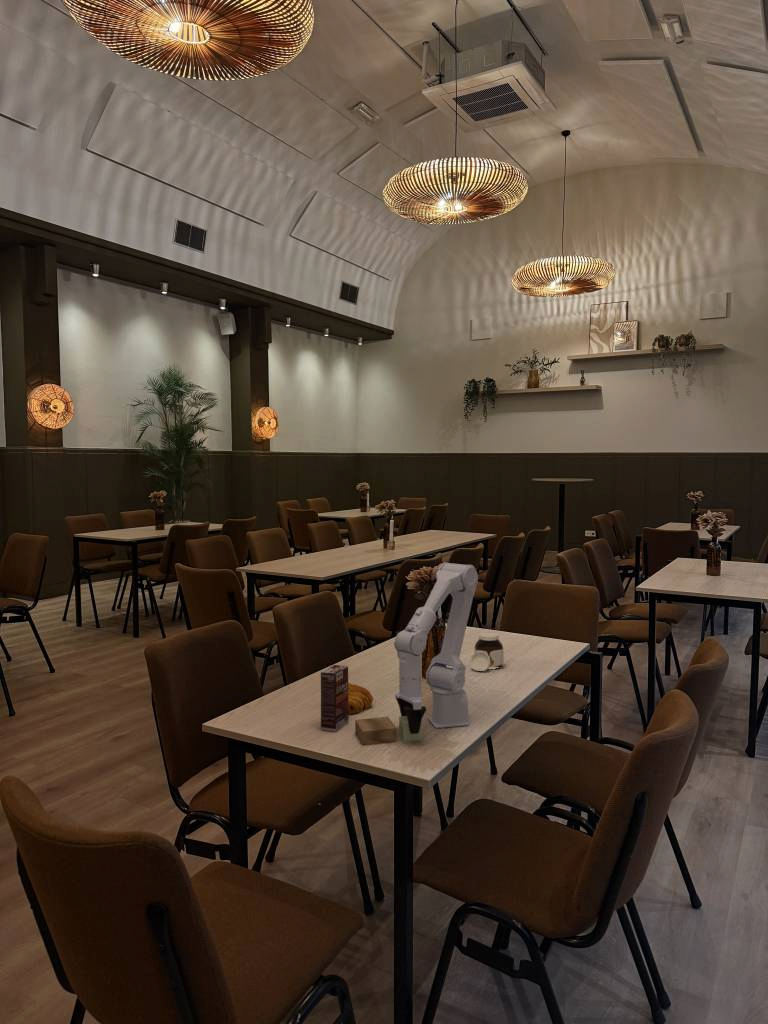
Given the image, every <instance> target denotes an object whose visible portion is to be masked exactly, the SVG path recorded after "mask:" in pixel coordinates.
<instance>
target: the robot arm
mask: <svg viewBox="0 0 768 1024" xmlns="http://www.w3.org/2000/svg"><path fill="white" fill-rule="evenodd" d="M435 578H436V582H435V583H434V586H433V588H432V590H431V591H430V593H429V595H428V598H427V599H426V602H425V604H424V606H421V607H418V608H417V609H415V610H416V611H415V612H414V613H413V615H412V617H411V619H410V620H409V622H408V623H407V626H406V627H405V629H403V630H402V631H399V632H397V634H396V636H395V639H394V640H395V641H394V642H393V645H394V649H395V650H396V653H397V655H396V656H397V657H396V658H398V668H399V669H398V673H399V674H398V675H399V676H398V677H399V678H398V680H399V682H398V683H399V687H398V688H399V692H398V693H397V692H396V693H394V697H395V699H396V702H397V704H398V707H399V711H400V716H407V718H408V724H409V730H410V733H411V734H417V733H419V729H420V725H421V721H423V717H424V715H425V713H426V712H427V707H426V706H424V705H423V706H422V698H423V693H422V653H423V652H425V650H426V646H427V640H428V635H429V632H431V630H432V628H433V626H434V624H435V622H437V616H436V613H437V611H438V610H439V608H440V607H441V605H442V604H443V603H444V602H445V600H446V598H447V597H448V596H449V595H451V598H452V601H451V606H450V610H449V615H448V618H447V624H446V628H445V632H444V636H443V640H442V644H441V649H440V653H438V654H437V655H436V656H434V657H433V658H431V662H430V665H429V666H428V668H427V669H426V674H425V680H426V681H425V682H426V683H427V685H428V686H429V687H430V691H432V698H431V699H432V716H429V717H427V719H428V720H429V721H430V723H432V725H433V726H434V728H435V729H441V728H451V727H452V728H453V727H454V728H455V727H463V726H469V725H470V723H469V699H468V694H467V692H466V690H465V689H463V688H464V686H465V683H466V668H467V667H466V665H465V664H464V662H463V661H462V660H461V658H460V656H461V651H462V647H463V643H464V639H465V634H466V630H467V624H468V621H469V616H470V612H471V608H472V604H473V599H474V597H475V593H476V589H477V586H478V585H477V584H478V581H479V574H478V572H477V570H476V568H475V566H474V565H473V564H460V563H451V562H450V563H449V562H447V561H446V562H442V563H441V564H440V565H439V568H438V570H437V571H436V573H435Z"/></svg>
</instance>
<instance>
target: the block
mask: <svg viewBox="0 0 768 1024" xmlns="http://www.w3.org/2000/svg"><path fill="white" fill-rule="evenodd" d="M354 723H355V725H354V728H355V729H354V730H355V733H354V734H355V735H356V737H357V738H358V740H359V743H360V744H361V745H362V747H363V746H364V747H365V746H372V745H373V746H374V745H382V744H391V743H392V744H393V743H397V742H398V740H397V739H398V736H397V735H398V733H397V732H398V729H397V726H396V725H395V724H394V723H393V721H392V720H391V719H390V717H389V716H382V717H381V716H379V717H372V718H371V717H368V718H360V719H355V720H354Z"/></svg>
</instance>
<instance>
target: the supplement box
mask: <svg viewBox="0 0 768 1024" xmlns="http://www.w3.org/2000/svg"><path fill="white" fill-rule="evenodd" d="M348 683H349V666H347V665H341V664H340V665H339V664H333V665H332V666H331V667H329V668H326V669H325V670H323V671H321V672H320V730H321V731H325V732H332V733H333V732H334V733H336V732H338V730H340V729H341V728H343V727H344V726H345V725H346V724H349V710H348Z"/></svg>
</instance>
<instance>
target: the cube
mask: <svg viewBox="0 0 768 1024" xmlns="http://www.w3.org/2000/svg"><path fill="white" fill-rule="evenodd" d="M398 717H399V721H398V722H399V724H398V725H399V733H398V735H399V736H400V738H401V739H402V741H403V742H405V743H406V742H412V741H423V740H424V739H423V737H424V736H423V734H424V731H423V729H424V727H423V725H424V723H423V720H422V721H421V725H420V729H419V733H417V734H411V733H410V730H409V724H408V718H407V716H401V715H400V716H398Z"/></svg>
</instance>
